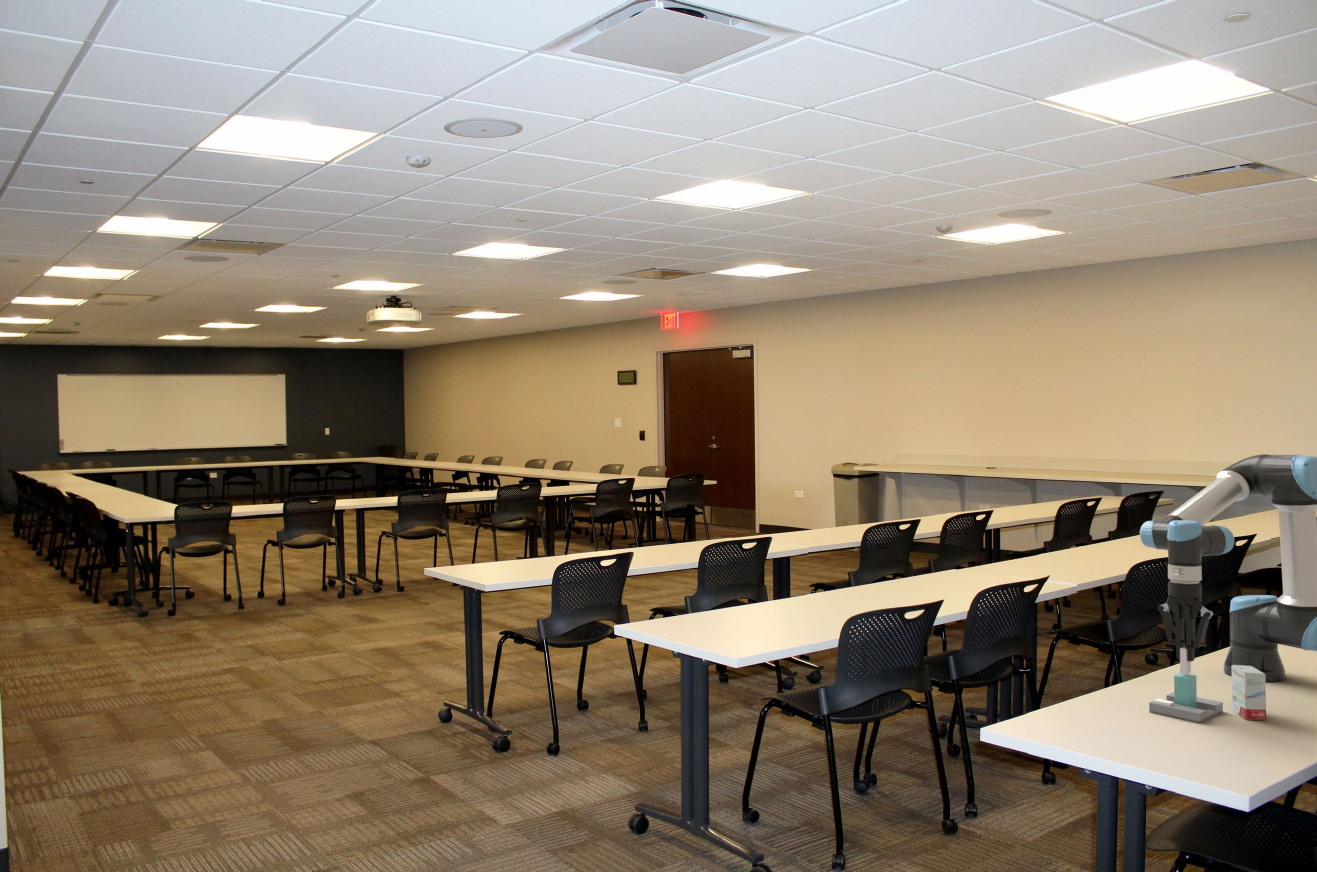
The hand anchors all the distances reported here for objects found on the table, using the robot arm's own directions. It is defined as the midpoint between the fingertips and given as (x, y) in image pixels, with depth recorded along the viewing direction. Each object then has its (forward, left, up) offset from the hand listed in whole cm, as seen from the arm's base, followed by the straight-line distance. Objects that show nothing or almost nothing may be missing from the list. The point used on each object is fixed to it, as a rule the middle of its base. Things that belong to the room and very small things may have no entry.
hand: (1185, 672), depth 237 cm
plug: (0, 0, -10) cm, 10 cm away
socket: (0, 0, -10) cm, 10 cm away
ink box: (-9, +11, -10) cm, 18 cm away
